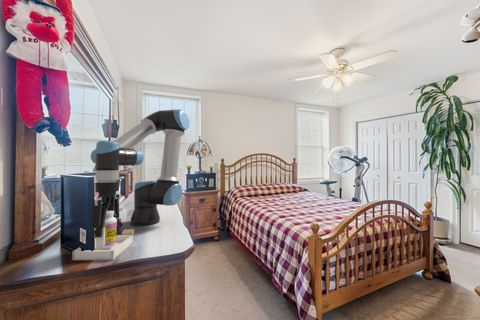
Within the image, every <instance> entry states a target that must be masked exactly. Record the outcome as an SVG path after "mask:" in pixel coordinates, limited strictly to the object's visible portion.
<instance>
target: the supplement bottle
mask: <svg viewBox="0 0 480 320" xmlns="http://www.w3.org/2000/svg"><path fill="white" fill-rule="evenodd" d="M113 215H114V211H107V212H106V217H105V222H104V226H103V227H105V245H104V246H96V247H97V248H108V247H111V246H114V245H115V244H116V236H117V234H116V232H117V219H116V218H115V217H113Z"/></svg>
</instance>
